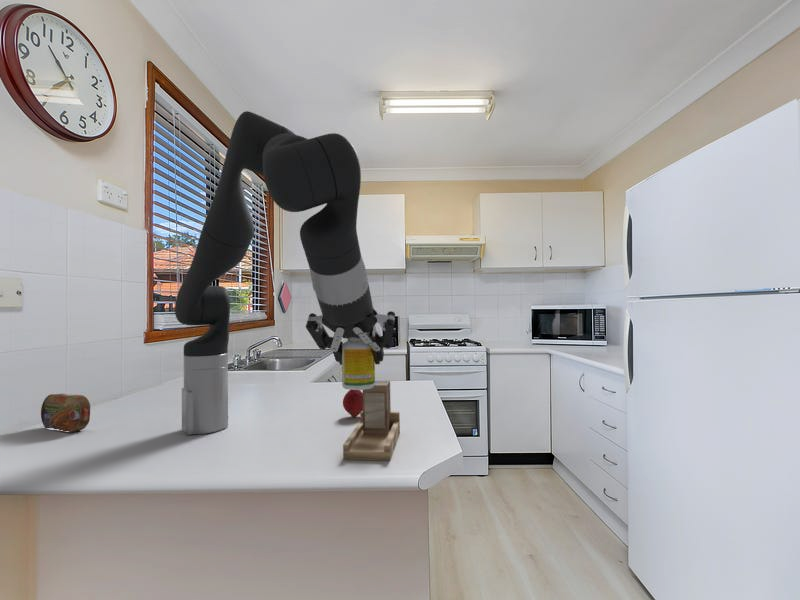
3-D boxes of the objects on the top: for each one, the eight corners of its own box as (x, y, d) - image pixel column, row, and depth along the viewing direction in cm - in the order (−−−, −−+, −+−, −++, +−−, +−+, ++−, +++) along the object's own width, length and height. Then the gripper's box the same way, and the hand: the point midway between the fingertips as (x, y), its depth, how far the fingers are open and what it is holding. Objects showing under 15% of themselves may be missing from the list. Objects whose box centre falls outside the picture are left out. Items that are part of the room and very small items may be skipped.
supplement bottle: (338, 386, 65) (337, 329, 66) (368, 383, 68) (367, 327, 68) (348, 391, 61) (347, 329, 61) (380, 388, 63) (379, 328, 63)
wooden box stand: (390, 460, 69) (388, 395, 70) (343, 459, 70) (342, 395, 71) (399, 432, 85) (398, 379, 85) (361, 431, 86) (360, 379, 86)
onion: (368, 414, 101) (367, 383, 101) (363, 420, 95) (363, 387, 95) (346, 413, 101) (345, 383, 102) (340, 420, 96) (340, 387, 96)
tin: (39, 428, 93) (39, 393, 93) (54, 425, 96) (55, 390, 96) (78, 435, 88) (78, 397, 88) (93, 431, 90) (93, 394, 91)
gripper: (394, 266, 57) (403, 343, 68) (298, 269, 58) (323, 344, 70) (390, 302, 51) (401, 378, 63) (284, 304, 53) (314, 379, 64)
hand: (360, 360), depth 66 cm, fingers closed on supplement bottle, 5 cm apart
